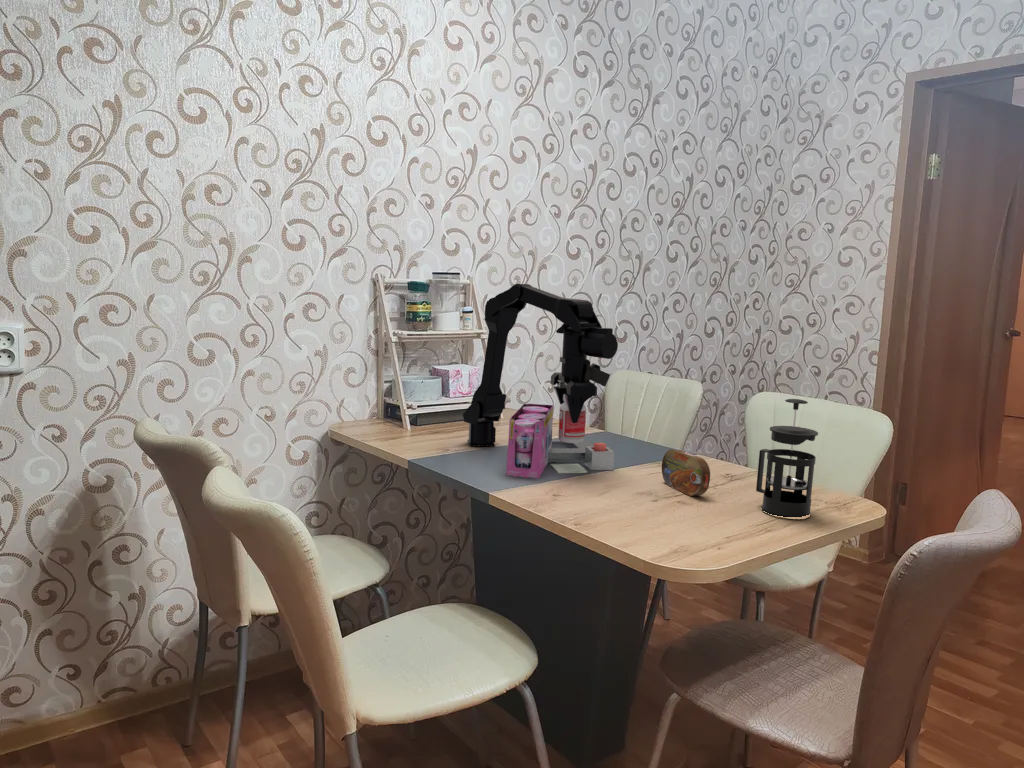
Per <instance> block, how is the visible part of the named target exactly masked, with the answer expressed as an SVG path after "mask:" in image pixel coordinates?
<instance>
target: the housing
mask: <svg viewBox="0 0 1024 768" xmlns="http://www.w3.org/2000/svg"><path fill="white" fill-rule="evenodd" d="M614 462H615V451H614V449H613V450H612V449H611V448H610V447H609V446H607V445H606V451H594V446H585V463H584V466H586V468H588V469H589V470H590V471H613V470H614V464H615V463H614Z"/></svg>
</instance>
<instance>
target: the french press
mask: <svg viewBox="0 0 1024 768" xmlns="http://www.w3.org/2000/svg"><path fill="white" fill-rule="evenodd" d="M784 401H785V402H786V403H792V404H793V407H792V409H793V410H794V413H793V425H773V426H770V427H769V431H770V432H771V435H770V437H771V438H770V440H771V441H773V442H776V443H779V444H785V445H790V449H786V448H776V449H768V448H767V449H766V448H763V449H762V448H761V449H760V450H759V455H758V463H757V466H758V467H757V474H756V475H757V478H756V487H755V489H756V490H755V491H756V492H758V493H761V494H763V495H762V505H761V507H760V509H761V508H762V510H763V511H765V512H767V513H769V514H772V515H777V516H783V517H802V516H806V515H809V514H810V513H811V507H812V499H811V498H812V488H813V481H814V480H813V479H814V470H815V464H816V456H815V454H812V453H809V452H805V451H801V450H795V449H794V446H799V445H801V444H803V443H805V441H809V442H814V441H815V440H816V437H817V436H818V435H819V432H818V431H817V430H815V429H811V428H807V427H800V426H796V419H797V411H799V406H800V404H801V405H806V404H809V402H808V401H807V400H804V399H799V398H787V399H785V400H784ZM766 454H767V455H766ZM765 456H766V457H765ZM782 456H785V457H782ZM786 456H787V457H789V458H786ZM793 457H795V458H796V459H795V458H793ZM765 458H766V459H767V463H766V464H767V465H766V474H765V475H766V476H765V485H764V488H763V479H764V478H763V477H764V468H765V467H764V466H765ZM773 464H774V472H773ZM785 466H788V475H787V476H785V475H784V467H785ZM792 467H795V475H794V477H793V476H792V475H791V473H792V472H791V471H792ZM806 467H808V472H807V474H808V475H807V480H805V469H806ZM772 473H773V474H772ZM772 475H773V476H772ZM771 487H772V490H771ZM803 491H805V492H806V493H805V494H803ZM762 510H761V511H762Z"/></svg>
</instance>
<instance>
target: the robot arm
mask: <svg viewBox="0 0 1024 768" xmlns="http://www.w3.org/2000/svg"><path fill="white" fill-rule="evenodd" d="M527 304H528V305H531V306H534V307H536V308H538V309H541V310H544V311H546V312H548V313H549V312H550V313H551V314H552V315H554V317H555V319H557V321H560V322H561V323H562V324H561V326H560V327H559V328H557V329H556V331H555V333H557V334H562V352H561V353H562V354H561V356H559V362H561V371H560V372H559V371H558V372H556V371H555V372H553V373H552V374H551V376H550V384H551V385H552V386H553V389H554V392H555V394H556V397H557V399H558V403H559V406H560V405H561V404H562V403H564V401H563V395H564V394H565V398H566V402H567V405H568V409H569V413H570V416H571V420H572V423H577V422H578V419H579V416H580V413H581V410H582V407H583V405H585V403H586V401H588V400H589V399H592V397H597V396H598V387H597V386H596V384H595V383H597V384H599V385H600V386H602V387H607V384H608V382H609V380H610V377H611V373H608V372H605V371H603V370H601V365H599V364H596V363H593V362H592V364H591V361H590V359H588V357H590V358H599V359H606V360H610V359H612V358H614V357H615V355H616V353H617V351H618V346H619V343H618V341H617V337H616V335H615V334H614V333H613V331H614V329H613V328H611V327H602V325H601V323H600V321H599V319H598V316H597V314H596V313H595V311H594V307H593V303H592V302H591V301H589V300H587V299H579V298H567V297H562V296H559V295H556V294H554V293H551V292H549V291H545V290H543V289H540V288H538V287H536V286H535V287H534V286H532V285H531V284H529V283H516V284H513V285H512V286H510V287H509V288H508V289H507V290H504V291H503V292H500V293H498V294H496V295H495V296H494V297H491V298H489V300H487V301H486V303H485V305H484V322H485V324H486V326H487V329H488V334H487V340H486V348H485V354H484V361H483V362H484V363H483V368H482V375H481V382H480V384H479V386H478V387H477V388H476V390H475V391H474V393H473V395H472V398H471V399H472V400H471V402H470V405H469V406H468V407H467V408H466V410H465V411H464V412H463V413H462V418H463V421H464V423H467V424H468V439H466V440H467V443H468V445H469V446H470V447H495V443H496V430H497V428H496V427H495V422H499V421H500V417H501V415H502V413H503V411H504V410H505V409H506V405H505V404H506V400H507V394H506V393H503V391H502V389H501V380H502V376H503V375H502V374H503V373H502V372H503V367H504V361H505V355H506V347H507V343H508V336H509V333H510V332H511V331H512V328H513V327H514V325H515V324H516V321H517V320H518V316H519V314H520V312H521V311H522V310H524V309H525V308H526V306H527ZM591 381H592V382H591ZM593 382H594V383H593Z"/></svg>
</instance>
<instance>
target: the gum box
mask: <svg viewBox="0 0 1024 768" xmlns="http://www.w3.org/2000/svg"><path fill="white" fill-rule="evenodd" d="M553 420H554V404H539V403H523V404H522V405H521V406H520V408H519V409H517V410H516V412H514V413H513V414H512V415H511V416H510V418H509V421H508V422H509V424H508V425H509V427H508V428H509V429H508V443H507V453H506V456H507V457H506V458H507V460H506V474H505V476H506V475H513V476H512V477H517V476H523V477H522V478H528V477H534V478H533V479H540V478H539V477H541V476H542V474H543V473H544V470H545V469H546V467H547V465H548V464H549V463H548V452H549V451H550V449H551V448H552V441H553ZM545 466H546V467H545ZM544 468H545V469H544ZM540 475H541V476H540Z"/></svg>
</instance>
